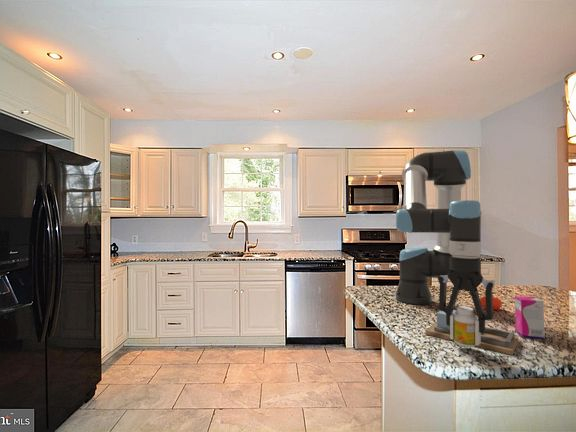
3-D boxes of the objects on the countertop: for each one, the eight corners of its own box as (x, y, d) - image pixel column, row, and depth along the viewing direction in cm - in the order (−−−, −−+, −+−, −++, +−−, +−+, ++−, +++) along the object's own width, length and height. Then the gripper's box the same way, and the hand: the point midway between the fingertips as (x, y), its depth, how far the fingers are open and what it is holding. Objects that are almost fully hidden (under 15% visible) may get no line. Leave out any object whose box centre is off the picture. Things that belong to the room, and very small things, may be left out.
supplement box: (536, 332, 97) (536, 296, 97) (545, 339, 92) (544, 301, 92) (514, 330, 99) (514, 295, 99) (521, 337, 93) (521, 299, 94)
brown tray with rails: (425, 334, 95) (425, 325, 96) (438, 324, 105) (438, 316, 105) (512, 355, 81) (512, 344, 81) (518, 341, 90) (518, 331, 90)
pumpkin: (476, 307, 127) (475, 291, 128) (497, 309, 126) (496, 292, 126) (483, 310, 120) (482, 293, 121) (506, 311, 119) (505, 294, 120)
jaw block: (437, 328, 96) (436, 312, 96) (443, 323, 101) (443, 308, 101) (451, 332, 93) (450, 315, 93) (457, 326, 99) (456, 310, 99)
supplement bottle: (449, 339, 87) (449, 305, 87) (467, 339, 87) (467, 305, 87) (462, 348, 82) (462, 311, 82) (481, 347, 82) (481, 310, 82)
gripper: (425, 254, 88) (425, 335, 88) (503, 261, 76) (503, 355, 76) (433, 252, 94) (434, 328, 93) (507, 257, 81) (507, 345, 81)
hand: (465, 340), depth 84 cm, fingers closed on supplement bottle, 5 cm apart
